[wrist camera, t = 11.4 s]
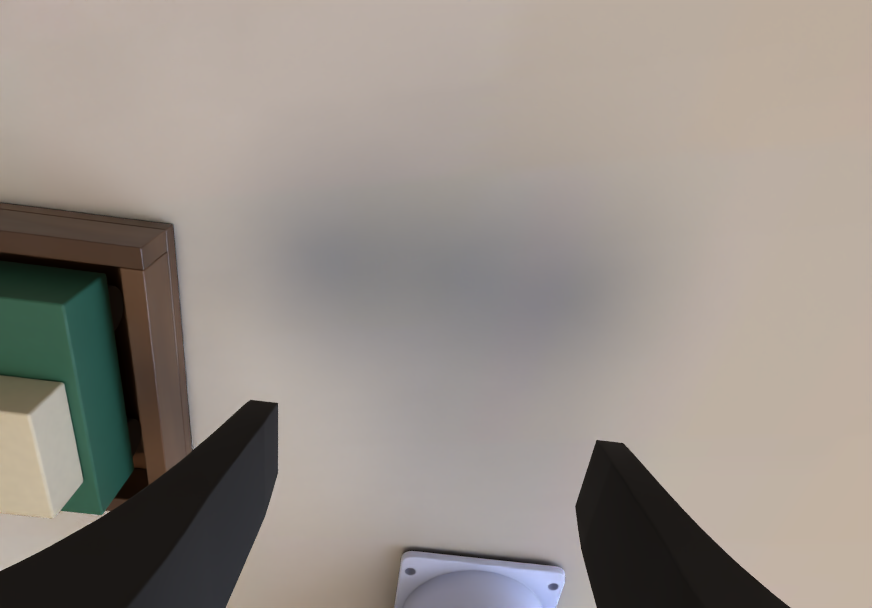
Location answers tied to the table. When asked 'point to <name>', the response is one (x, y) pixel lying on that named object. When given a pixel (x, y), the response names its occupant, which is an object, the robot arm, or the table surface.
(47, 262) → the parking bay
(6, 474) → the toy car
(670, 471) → the table surface
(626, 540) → the robot arm
